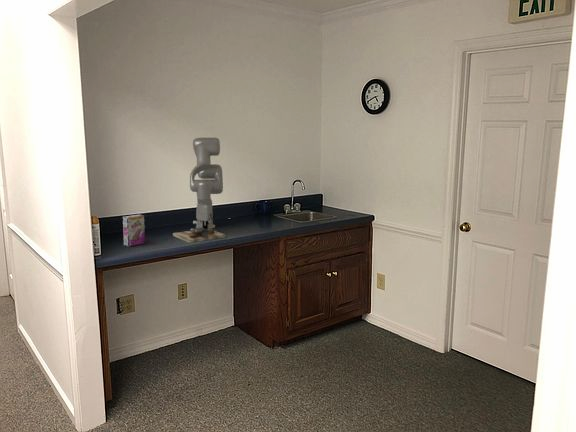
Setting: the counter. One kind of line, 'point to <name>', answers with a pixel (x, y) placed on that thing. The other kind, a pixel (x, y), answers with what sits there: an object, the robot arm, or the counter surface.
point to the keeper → (203, 232)
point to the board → (186, 237)
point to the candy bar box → (133, 230)
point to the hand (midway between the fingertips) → (205, 231)
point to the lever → (197, 233)
